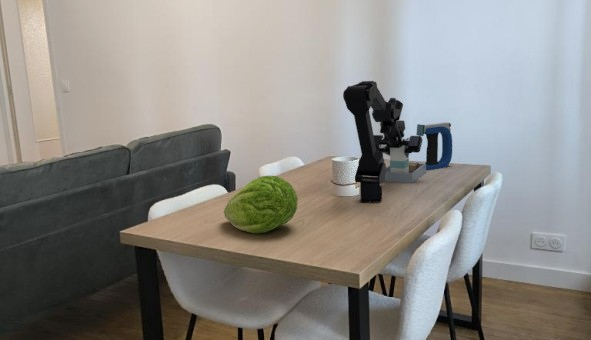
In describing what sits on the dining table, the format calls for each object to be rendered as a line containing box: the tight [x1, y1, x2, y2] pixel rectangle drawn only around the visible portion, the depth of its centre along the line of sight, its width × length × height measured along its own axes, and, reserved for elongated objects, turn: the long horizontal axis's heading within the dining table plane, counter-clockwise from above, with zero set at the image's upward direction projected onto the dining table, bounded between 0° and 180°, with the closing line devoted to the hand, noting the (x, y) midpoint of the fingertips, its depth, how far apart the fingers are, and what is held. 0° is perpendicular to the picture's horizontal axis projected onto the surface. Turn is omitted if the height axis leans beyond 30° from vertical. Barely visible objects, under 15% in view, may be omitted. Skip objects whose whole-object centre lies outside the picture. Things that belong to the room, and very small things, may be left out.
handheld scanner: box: [415, 121, 453, 171], centre depth 208 cm, size 4×16×19 cm, turn 115°
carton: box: [389, 145, 410, 173], centre depth 192 cm, size 6×6×12 cm
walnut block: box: [409, 161, 420, 173], centre depth 201 cm, size 6×8×4 cm
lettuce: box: [223, 175, 299, 234], centre depth 142 cm, size 15×25×16 cm
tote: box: [384, 162, 427, 184], centre depth 197 cm, size 20×13×4 cm, turn 151°
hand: (400, 156), depth 193 cm, fingers closed on carton, 5 cm apart
